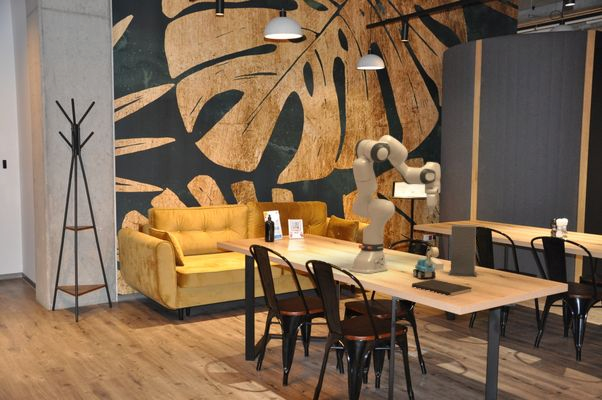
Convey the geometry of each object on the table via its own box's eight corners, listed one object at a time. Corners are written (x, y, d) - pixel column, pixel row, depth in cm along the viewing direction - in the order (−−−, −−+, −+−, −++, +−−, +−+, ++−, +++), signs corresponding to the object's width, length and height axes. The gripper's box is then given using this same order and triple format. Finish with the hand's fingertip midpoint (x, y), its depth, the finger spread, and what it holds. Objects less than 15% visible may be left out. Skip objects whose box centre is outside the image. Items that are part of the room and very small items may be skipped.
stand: (476, 277, 315) (477, 227, 313) (448, 275, 319) (449, 226, 317) (476, 273, 324) (478, 225, 322) (449, 271, 329) (450, 224, 327)
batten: (443, 270, 333) (443, 263, 332) (436, 271, 332) (436, 263, 332) (434, 264, 352) (434, 257, 352) (427, 264, 352) (427, 257, 352)
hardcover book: (433, 283, 301) (433, 279, 301) (472, 292, 282) (472, 287, 282) (411, 288, 291) (411, 283, 291) (450, 297, 273) (450, 292, 273)
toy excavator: (427, 282, 301) (427, 248, 300) (411, 276, 317) (412, 243, 316) (442, 281, 304) (443, 247, 302) (426, 275, 320) (427, 242, 318)
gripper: (428, 188, 362) (428, 211, 363) (425, 190, 343) (424, 215, 344) (439, 189, 360) (439, 212, 361) (436, 190, 341) (435, 215, 342)
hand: (432, 213), depth 352 cm, fingers open, 8 cm apart
